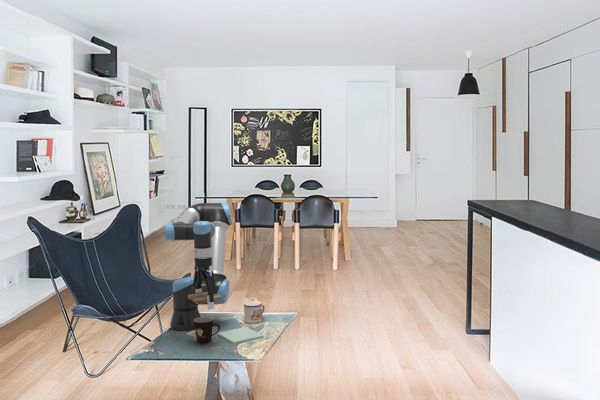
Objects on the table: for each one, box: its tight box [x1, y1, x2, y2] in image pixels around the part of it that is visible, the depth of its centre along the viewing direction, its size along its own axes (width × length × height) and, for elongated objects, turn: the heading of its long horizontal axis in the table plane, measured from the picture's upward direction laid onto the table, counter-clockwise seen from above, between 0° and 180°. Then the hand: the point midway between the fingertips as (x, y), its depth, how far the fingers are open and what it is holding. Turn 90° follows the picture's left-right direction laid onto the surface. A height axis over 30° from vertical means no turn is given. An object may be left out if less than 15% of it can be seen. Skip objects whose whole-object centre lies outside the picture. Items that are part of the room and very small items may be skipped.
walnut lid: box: [188, 291, 222, 304], centre depth 257 cm, size 11×11×2 cm
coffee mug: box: [194, 316, 221, 345], centre depth 258 cm, size 12×9×10 cm
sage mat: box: [216, 326, 265, 345], centre depth 266 cm, size 16×15×1 cm
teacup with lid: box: [243, 297, 266, 324], centre depth 289 cm, size 12×9×12 cm
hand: (205, 306), depth 257 cm, fingers closed on walnut lid, 11 cm apart
